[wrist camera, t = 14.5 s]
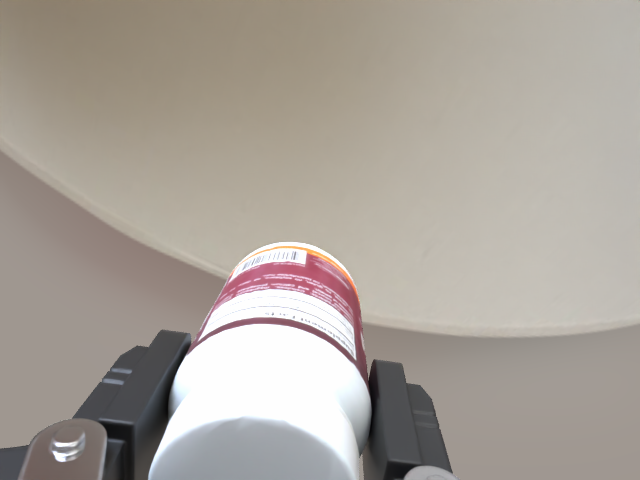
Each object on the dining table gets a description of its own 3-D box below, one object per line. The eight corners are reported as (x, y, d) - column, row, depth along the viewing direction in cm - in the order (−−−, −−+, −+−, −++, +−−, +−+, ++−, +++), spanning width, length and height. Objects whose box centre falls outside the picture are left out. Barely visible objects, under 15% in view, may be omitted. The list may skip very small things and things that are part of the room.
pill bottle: (324, 380, 18) (313, 624, 10) (205, 328, 17) (92, 542, 9) (385, 274, 16) (430, 462, 8) (257, 214, 16) (176, 354, 8)
